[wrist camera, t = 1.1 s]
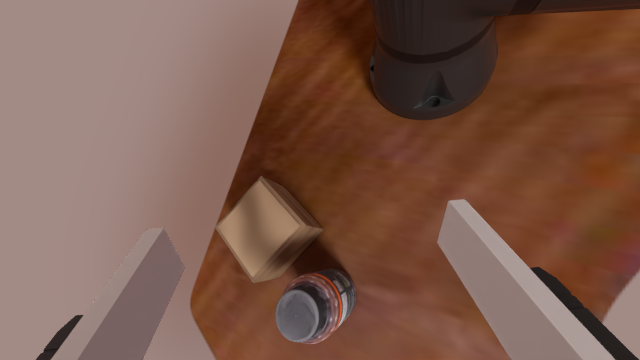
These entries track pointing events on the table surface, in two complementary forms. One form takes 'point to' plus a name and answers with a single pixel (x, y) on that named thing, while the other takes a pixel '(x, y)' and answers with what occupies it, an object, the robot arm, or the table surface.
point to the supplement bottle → (315, 305)
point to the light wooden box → (267, 230)
